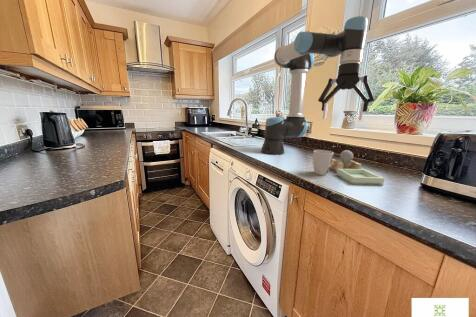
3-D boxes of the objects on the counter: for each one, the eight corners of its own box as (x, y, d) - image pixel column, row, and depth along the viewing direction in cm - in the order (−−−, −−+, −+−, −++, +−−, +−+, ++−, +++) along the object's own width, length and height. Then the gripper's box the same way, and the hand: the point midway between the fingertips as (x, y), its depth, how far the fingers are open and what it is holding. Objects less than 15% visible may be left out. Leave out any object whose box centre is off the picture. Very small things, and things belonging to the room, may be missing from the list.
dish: (336, 174, 86) (337, 168, 86) (363, 175, 87) (364, 169, 86) (352, 184, 75) (353, 177, 74) (383, 185, 75) (384, 178, 74)
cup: (332, 177, 83) (336, 154, 81) (312, 175, 84) (315, 152, 82) (327, 171, 91) (331, 150, 88) (309, 170, 92) (312, 149, 90)
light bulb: (336, 170, 93) (339, 149, 90) (339, 168, 97) (343, 148, 94) (348, 173, 89) (352, 151, 87) (352, 170, 93) (355, 150, 91)
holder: (329, 167, 97) (331, 158, 96) (348, 168, 98) (349, 159, 96) (339, 173, 88) (341, 163, 87) (359, 174, 88) (361, 164, 87)
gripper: (314, 66, 81) (308, 118, 86) (388, 56, 65) (376, 121, 70) (320, 69, 86) (314, 118, 91) (390, 61, 71) (379, 121, 76)
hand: (341, 119), depth 81 cm, fingers open, 13 cm apart
